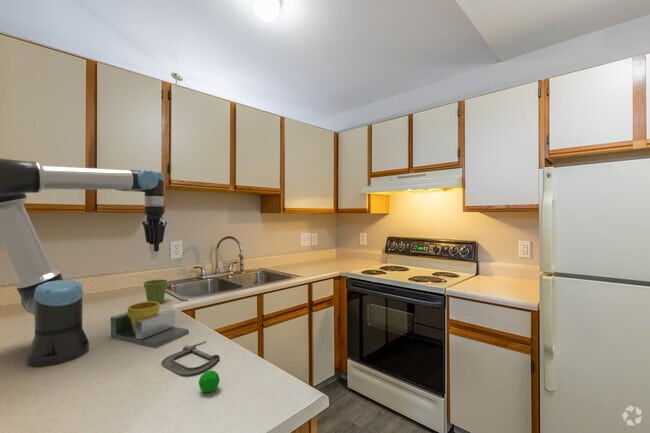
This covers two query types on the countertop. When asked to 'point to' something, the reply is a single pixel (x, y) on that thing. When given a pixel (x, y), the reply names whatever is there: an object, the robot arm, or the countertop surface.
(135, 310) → the plant pot
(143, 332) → the steel jaw
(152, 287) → the plant pot
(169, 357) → the c clamp
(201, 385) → the polyhedron
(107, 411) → the countertop surface
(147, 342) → the vise base
